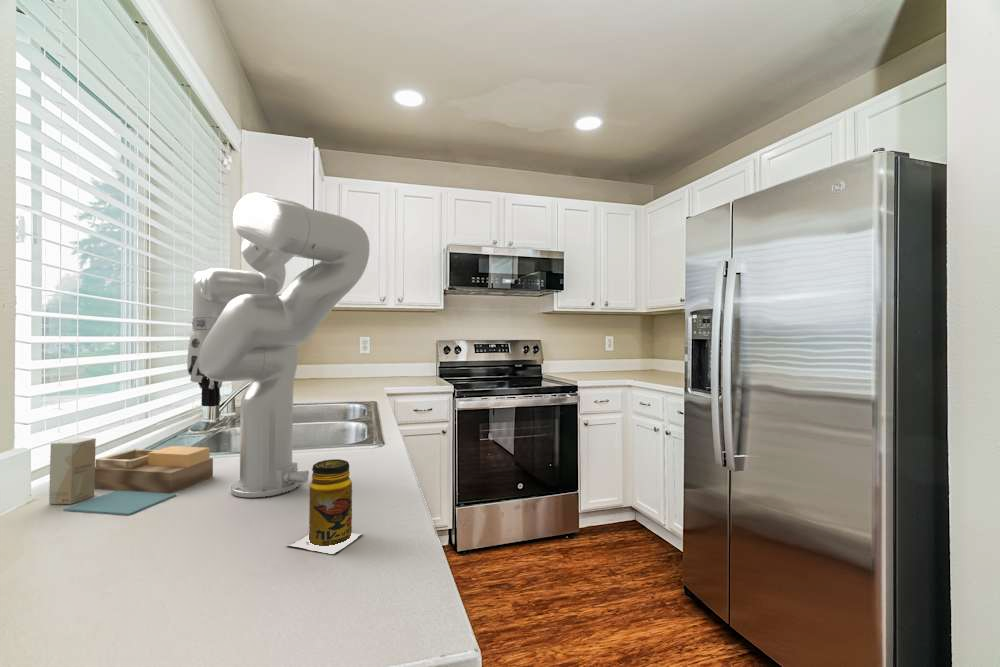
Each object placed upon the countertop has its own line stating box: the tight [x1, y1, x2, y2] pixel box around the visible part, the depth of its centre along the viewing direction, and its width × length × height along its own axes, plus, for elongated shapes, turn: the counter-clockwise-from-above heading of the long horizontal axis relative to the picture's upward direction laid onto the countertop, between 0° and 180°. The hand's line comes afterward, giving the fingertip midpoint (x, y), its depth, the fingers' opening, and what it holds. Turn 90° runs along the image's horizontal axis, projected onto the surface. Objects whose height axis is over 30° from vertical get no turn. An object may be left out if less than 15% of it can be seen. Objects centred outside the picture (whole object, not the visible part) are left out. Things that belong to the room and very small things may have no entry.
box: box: [48, 437, 97, 505], centre depth 89 cm, size 5×4×11 cm
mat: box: [62, 490, 177, 516], centre depth 88 cm, size 13×10×1 cm
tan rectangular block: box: [148, 445, 211, 467], centre depth 100 cm, size 9×6×2 cm, turn 82°
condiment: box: [308, 458, 353, 546], centre depth 72 cm, size 7×8×12 cm
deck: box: [94, 448, 214, 494], centre depth 100 cm, size 18×11×6 cm, turn 82°
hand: (210, 405), depth 110 cm, fingers closed
